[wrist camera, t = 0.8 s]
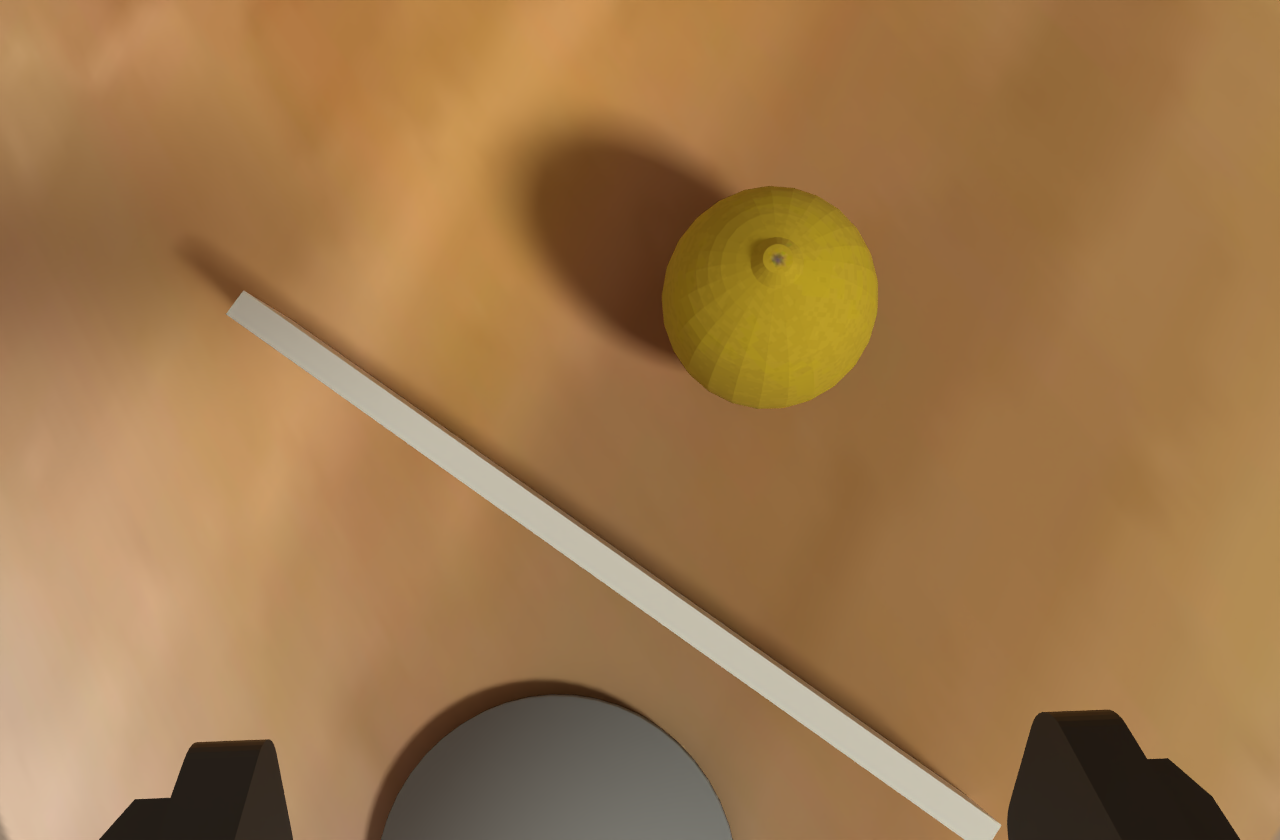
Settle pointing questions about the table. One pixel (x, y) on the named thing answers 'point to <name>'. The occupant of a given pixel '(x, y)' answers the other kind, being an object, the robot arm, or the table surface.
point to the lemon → (770, 297)
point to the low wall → (619, 572)
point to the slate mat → (557, 779)
